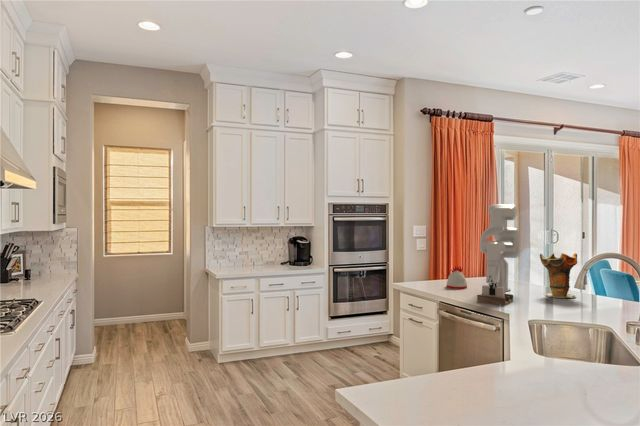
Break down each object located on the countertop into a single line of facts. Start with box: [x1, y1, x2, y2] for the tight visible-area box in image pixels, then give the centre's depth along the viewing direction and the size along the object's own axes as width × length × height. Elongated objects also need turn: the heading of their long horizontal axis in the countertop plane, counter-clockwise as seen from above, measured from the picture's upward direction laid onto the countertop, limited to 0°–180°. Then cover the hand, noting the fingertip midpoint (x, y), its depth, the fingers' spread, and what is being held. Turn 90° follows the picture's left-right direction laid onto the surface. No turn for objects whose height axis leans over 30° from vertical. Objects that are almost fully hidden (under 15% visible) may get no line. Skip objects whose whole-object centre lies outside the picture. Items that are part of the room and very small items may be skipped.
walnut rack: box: [476, 292, 514, 306], centre depth 267 cm, size 15×16×4 cm
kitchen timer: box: [446, 265, 468, 290], centre depth 316 cm, size 14×14×15 cm
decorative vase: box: [539, 252, 578, 299], centre depth 285 cm, size 21×23×28 cm
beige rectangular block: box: [481, 284, 506, 298], centre depth 264 cm, size 3×12×7 cm, turn 51°
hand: (493, 294), depth 264 cm, fingers closed on beige rectangular block, 2 cm apart
